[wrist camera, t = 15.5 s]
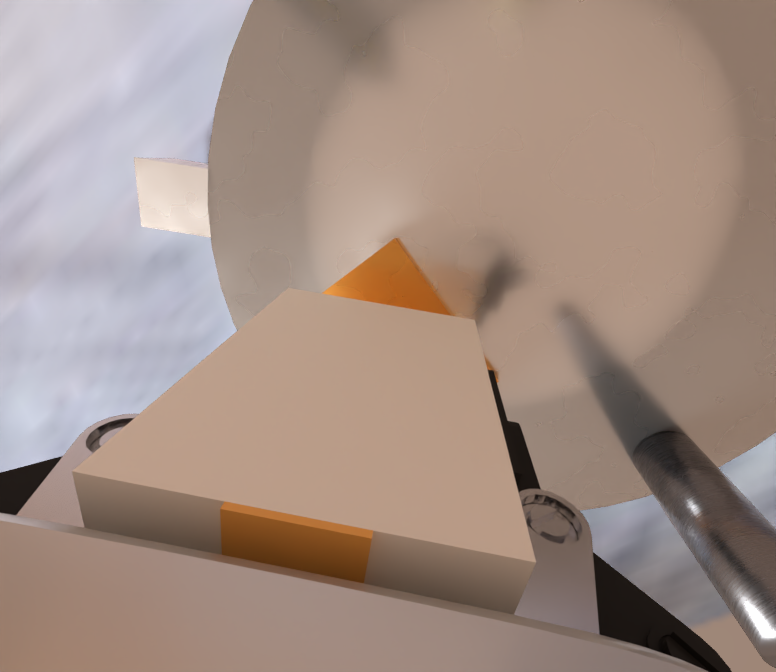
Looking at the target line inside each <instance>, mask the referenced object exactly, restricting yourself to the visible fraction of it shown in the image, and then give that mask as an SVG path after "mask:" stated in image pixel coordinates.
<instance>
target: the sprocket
mask: <svg viewBox="0 0 776 672" xmlns="http://www.w3.org/2000/svg"><path fill="white" fill-rule="evenodd" d="M134 163H135V172H136V181H137V191H138V200H139V209H140V218H141V226H142V227H149V228H155V229H161V230H167V231H174V232H180V233H186V234H192V235H198V236H205V237H211V243H212V250H213V254H214V259H215V263H216V267H217V272H218V276H219V281H220V285H221V289H222V292H223V294H224V297H225V300H226V303H227V306H228V308H229V311H230V314H231V317H232V320H233V323H234V325H235V327H236V329H237V331H238V330H239V329H240V328H241V327H243V326H244V325H245V324H246V323H247V322H248V321H250V320H251V319H252V318H253V317H254V316H256V315H257V314H258V313H259V312H260V311H261V310H263V309H264V308H265V307H266V306H267V305H269V304H270V303H271V302H272V301H273V300H274V299H276V298H277V297H278V296H279V295H280V294H281V293H283V292H284V291H285V290H286V289H287V288H293V289H299V290H304V291H310V292H316V293H322V294H328V295H333V296H339V297H345V298H351V299H356V300H362V301H368V302H374V303H380V304H385V305H391V306H397V307H403V308H409V309H414V310H420V311H426V312H432V313H438V314H443V315H449V316H455V317H461V318H467V319H472V320H475V323H476V326H477V330H478V334H479V338H480V342H481V346H482V350H483V354H484V358H485V362H486V366H487V370H493V371H494V374H495V377H496V381H497V385H498V388H499V392H500V395H501V399H502V403H503V406H504V410H505V413H506V417H507V420H508V421H512V422H517V423H519V425H520V427H521V429H522V432H523V435H524V439H525V442H526V445H527V448H528V451H529V454H530V457H531V460H532V463H533V466H534V470H535V473H536V476H537V479H538V482H539V485H540V488H541V489H542V490H545V491H549V492H552V493H554V494H556V495H558V496H561V497H563V498H564V499H566V500H567V501H568V502H570V503H571V504H573V505H574V506H575V507H576V508H577V509H578V510H579V511H580V510H586V509H593V508H600V507H606V506H610V505H615V504H619V503H623V502H627V501H631V500H635V499H639V498H643V497H646V496H649V495H652V494H653V495H654V497H655V498H656V500H657V501H658V503H659V504H660V506H661V507H662V509H663V510H664V512H665V513H666V515H667V516H668V518H669V519H670V521H671V522H672V524H673V525H674V527H675V528H676V530H677V531H678V533H679V534H680V535H681V537H682V538H683V540H684V541H685V543H686V544H687V546H688V547H689V549H690V550H691V552H692V553H693V555H694V557H695V558H696V560H697V561H698V563H699V564H700V566H701V567H702V569H703V570H704V572H705V573H706V575H707V576H708V578H709V579H710V581H711V582H712V584H713V585H714V587H715V588H716V590H717V591H718V593H719V594H720V596H721V597H722V599H723V600H724V602H725V603H726V605H727V606H728V608H729V609H730V611H731V612H732V614H733V615H734V617H735V618H736V620H737V621H738V623H739V624H740V626H741V627H742V629H743V630H744V632H745V633H746V635H747V636H748V638H749V639H750V641H751V642H752V644H753V645H754V646H755V648H756V650H757V651H758V653H759V654H760V656H761V657H762V659H763V660H764V661H765V662H766V663H768V664H769V665H771V666H773V667H775V668H776V529H775V528H774V527H773V526H772V525H771V524H770V523H769V522H768V521H767V519H766V518H765V517H764V516H763V515H762V514H761V513H760V512H759V511H758V510H757V509H756V508H755V507H754V506H753V505H752V503H751V502H750V501H749V500H748V499H747V498H746V497H745V496H744V495H743V494H742V493H741V492H740V491H739V490H738V489H737V487H736V486H735V485H734V484H733V483H732V482H731V481H730V480H729V479H728V478H727V477H726V476H725V475H724V474H723V473H722V471H721V470H720V469H719V468H718V467H720V466H722V465H723V464H725V463H727V462H729V461H730V460H732V459H734V458H736V457H737V456H739V455H741V454H743V453H744V452H746V451H748V450H750V449H751V448H753V447H755V446H757V445H758V444H759V443H761V442H762V441H764V440H765V439H767V438H768V437H769V436H771V435H772V434H774V433H775V432H776V0H253V2H252V4H251V5H250V8H249V10H248V13H247V15H246V17H245V20H244V22H243V25H242V27H241V30H240V32H239V35H238V37H237V39H236V42H235V44H234V47H233V49H232V52H231V54H230V57H229V60H228V63H227V67H226V71H225V75H224V78H223V82H222V86H221V89H220V93H219V97H218V101H217V104H216V108H215V115H214V122H213V129H212V136H211V143H210V150H209V157H208V164H207V163H200V162H194V161H187V160H181V159H174V158H136V157H134Z"/></svg>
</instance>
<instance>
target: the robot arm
mask: <svg viewBox="0 0 776 672" xmlns="http://www.w3.org/2000/svg"><path fill="white" fill-rule="evenodd" d="M488 374H489V378H490V382H491V386H492V390H493V394H494V398H495V402H496V406H497V410H498V413H499V417H500V421H501V425H502V429H503V433H504V437H505V441H506V445H507V449H508V453H509V457H510V461H511V465H512V469H513V473H514V477H515V481H516V485H517V489H518V493H519V496H520V500H521V504H522V508H523V512H524V516H525V520H526V524H527V528H528V532H529V536H530V540H531V544H532V548H533V552H534V556H535V560H536V564H535V566H534V569H533V571H532V573H531V576H530V578H529V580H528V583H527V585H526V587H525V590H524V592H523V594H522V597H521V599H520V601H519V604H518V606H517V608H516V611H515V613H514V615H512V614H508V613H503V612H499V611H494V610H489V609H484V608H480V607H475V606H470V605H465V604H460V603H455V602H451V601H446V600H441V599H436V598H431V597H427V596H422V595H417V594H412V593H407V592H403V591H398V590H393V589H388V588H383V587H378V586H374V585H369V584H364V583H359V582H354V581H349V580H344V579H339V578H334V577H330V576H325V575H320V574H315V573H310V572H305V571H300V570H295V569H290V568H285V567H280V566H275V565H270V564H265V563H260V562H255V561H250V560H245V559H240V558H235V557H230V556H225V555H220V554H215V553H210V552H205V551H200V550H195V549H190V548H185V547H180V546H175V545H170V544H165V543H160V542H154V541H149V540H144V539H139V538H134V537H129V536H124V535H119V534H113V533H108V532H103V531H98V530H93V529H88V528H85V527H84V523H83V518H82V514H81V510H80V505H79V501H78V496H77V492H76V488H75V483H74V479H73V474H72V471H73V470H74V469H75V468H76V467H78V466H79V465H80V464H81V463H82V462H83V461H85V460H86V459H87V458H88V457H89V456H90V455H92V454H93V453H94V452H95V451H96V450H98V449H99V448H100V447H101V446H102V445H103V444H105V443H106V442H107V441H108V440H109V439H111V438H112V437H113V436H114V435H115V434H116V433H118V432H119V431H120V430H121V429H122V428H124V427H125V426H126V425H127V424H128V423H129V422H131V421H132V420H133V419H134V418H135V417H136V416H138V415H139V414H123V415H118V416H113V417H109V418H107V419H104V420H101V421H99V422H97V423H95V424H93V425H92V426H90V427H88V428H87V429H86V430H85V431H84V432H82V433H81V434H80V435H79V437H78V438H77V439H76V440H75V442H74V443H73V444H72V445H71V447H70V448H69V449H68V450H67V452H66V453H65V454H64V456H62V457H58V458H54V459H50V460H47V461H43V462H39V463H35V464H32V465H28V466H24V467H20V468H17V469H13V470H9V471H5V472H2V473H0V672H731V670H730V668H729V667H728V666H727V665H726V664H725V662H724V661H723V660H722V658H721V657H720V656H719V655H718V653H717V652H716V651H715V650H714V649H712V647H710V646H709V645H708V644H707V643H706V642H705V641H704V640H703V639H702V638H700V637H699V636H698V635H697V634H696V633H694V632H693V631H692V630H691V629H689V628H688V627H687V626H686V625H684V624H683V623H682V622H680V621H679V620H678V619H677V618H675V617H674V616H673V615H672V614H670V613H669V612H668V611H667V610H665V609H664V608H663V607H662V606H660V605H659V604H658V603H656V602H655V601H654V600H653V599H651V598H650V597H649V596H648V595H646V594H645V593H644V592H643V591H641V590H640V589H639V588H638V587H636V586H635V585H634V584H632V583H631V582H630V581H629V580H627V579H626V578H625V577H624V576H622V575H621V574H620V573H619V572H617V571H616V570H615V569H614V568H612V567H611V566H610V565H608V564H607V563H606V562H605V561H603V560H602V559H601V558H600V557H598V556H597V555H596V554H595V553H593V549H592V536H591V531H590V527H589V524H588V522H587V521H586V519H585V517H584V516H583V514H582V513H581V512H580V511H579V510H578V509H577V508H576V507H575V506H574V505H573V504H571V503H570V502H568V501H567V500H566V499H564V498H563V497H561V496H558V495H556V494H554V493H552V492H549V491H545V490H542V489H541V488H540V485H539V482H538V479H537V476H536V473H535V470H534V466H533V463H532V460H531V457H530V454H529V451H528V448H527V445H526V442H525V439H524V435H523V432H522V429H521V427H520V425H519V423H517V422H512V421H508V420H507V417H506V413H505V410H504V406H503V403H502V399H501V395H500V392H499V388H498V385H497V381H496V377H495V374H494V371H493V370H488Z"/></svg>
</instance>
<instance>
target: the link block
mask: <svg viewBox="0 0 776 672" xmlns="http://www.w3.org/2000/svg"><path fill="white" fill-rule="evenodd" d="M72 474H73V479H74V483H75V488H76V492H77V496H78V501H79V505H80V510H81V514H82V518H83V523H84V527H85V528H88V529H93V530H98V531H103V532H108V533H113V534H119V535H124V536H129V537H134V538H139V539H144V540H149V541H154V542H160V543H165V544H170V545H175V546H180V547H185V548H190V549H195V550H200V551H205V552H210V553H215V554H220V555H225V556H230V557H235V558H240V559H245V560H250V561H255V562H260V563H265V564H270V565H275V566H280V567H285V568H290V569H295V570H300V571H305V572H310V573H315V574H320V575H325V576H330V577H334V578H339V579H344V580H349V581H354V582H359V583H364V584H369V585H374V586H378V587H383V588H388V589H393V590H398V591H403V592H407V593H412V594H417V595H422V596H427V597H431V598H436V599H441V600H446V601H451V602H455V603H460V604H465V605H470V606H475V607H480V608H484V609H489V610H494V611H499V612H503V613H508V614H512V615H514V613H515V611H516V608H517V606H518V604H519V601H520V599H521V597H522V594H523V592H524V590H525V587H526V585H527V583H528V580H529V578H530V576H531V573H532V571H533V569H534V566H535V564H536V560H535V556H534V552H533V548H532V544H531V540H530V536H529V532H528V528H527V524H526V520H525V516H524V512H523V508H522V504H521V500H520V496H519V493H518V489H517V485H516V481H515V477H514V473H513V469H512V465H511V461H510V457H509V453H508V449H507V445H506V441H505V437H504V433H503V429H502V425H501V421H500V417H499V413H498V410H497V406H496V402H495V398H494V394H493V390H492V386H491V382H490V378H489V374H488V370H487V366H486V362H485V358H484V354H483V350H482V346H481V342H480V338H479V334H478V330H477V326H476V323H475V320H472V319H467V318H461V317H455V316H449V315H443V314H438V313H432V312H426V311H420V310H414V309H409V308H403V307H397V306H391V305H385V304H380V303H374V302H368V301H362V300H356V299H351V298H345V297H339V296H333V295H328V294H322V293H316V292H310V291H304V290H299V289H293V288H287V289H286V290H285V291H284V292H283V293H281V294H280V295H279V296H278V297H277V298H276V299H274V300H273V301H272V302H271V303H270V304H269V305H267V306H266V307H265V308H264V309H263V310H261V311H260V312H259V313H258V314H257V315H256V316H254V317H253V318H252V319H251V320H250V321H248V322H247V323H246V324H245V325H244V326H243V327H241V328H240V329H239V330H238V331H237V332H236V333H234V334H233V335H232V336H231V337H230V338H228V339H227V340H226V341H225V342H224V343H223V344H221V345H220V346H219V347H218V348H217V349H215V350H214V351H213V352H212V353H211V354H210V355H208V356H207V357H206V358H205V359H204V360H202V361H201V362H200V363H199V364H198V365H197V366H195V367H194V368H193V369H192V370H191V371H190V372H188V373H187V374H186V375H185V376H184V377H182V378H181V379H180V380H179V381H178V382H177V383H175V384H174V385H173V386H172V387H171V388H169V389H168V390H167V391H166V392H165V393H164V394H162V395H161V396H160V397H159V398H158V399H157V400H155V401H154V402H153V403H152V404H151V405H149V406H148V407H147V408H146V409H145V410H144V411H142V412H141V413H140V414H139V415H138V416H136V417H135V418H134V419H133V420H132V421H131V422H129V423H128V424H127V425H126V426H125V427H124V428H122V429H121V430H120V431H119V432H118V433H116V434H115V435H114V436H113V437H112V438H111V439H109V440H108V441H107V442H106V443H105V444H103V445H102V446H101V447H100V448H99V449H98V450H96V451H95V452H94V453H93V454H92V455H90V456H89V457H88V458H87V459H86V460H85V461H83V462H82V463H81V464H80V465H79V466H78V467H76V468H75V469H74V470H73V471H72Z"/></svg>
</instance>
